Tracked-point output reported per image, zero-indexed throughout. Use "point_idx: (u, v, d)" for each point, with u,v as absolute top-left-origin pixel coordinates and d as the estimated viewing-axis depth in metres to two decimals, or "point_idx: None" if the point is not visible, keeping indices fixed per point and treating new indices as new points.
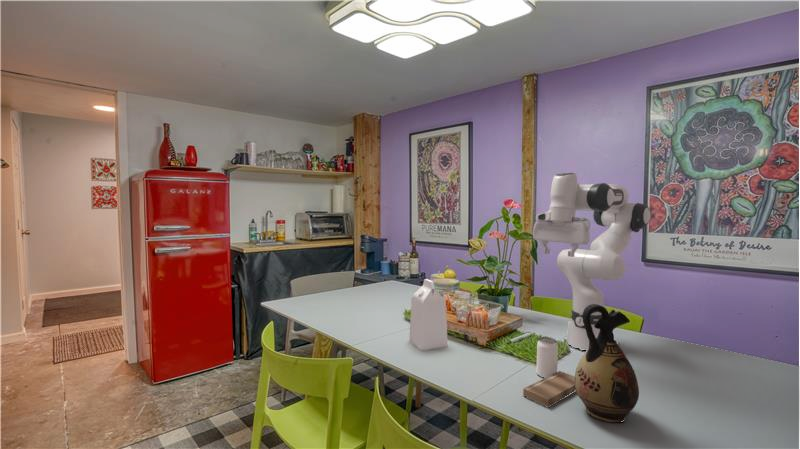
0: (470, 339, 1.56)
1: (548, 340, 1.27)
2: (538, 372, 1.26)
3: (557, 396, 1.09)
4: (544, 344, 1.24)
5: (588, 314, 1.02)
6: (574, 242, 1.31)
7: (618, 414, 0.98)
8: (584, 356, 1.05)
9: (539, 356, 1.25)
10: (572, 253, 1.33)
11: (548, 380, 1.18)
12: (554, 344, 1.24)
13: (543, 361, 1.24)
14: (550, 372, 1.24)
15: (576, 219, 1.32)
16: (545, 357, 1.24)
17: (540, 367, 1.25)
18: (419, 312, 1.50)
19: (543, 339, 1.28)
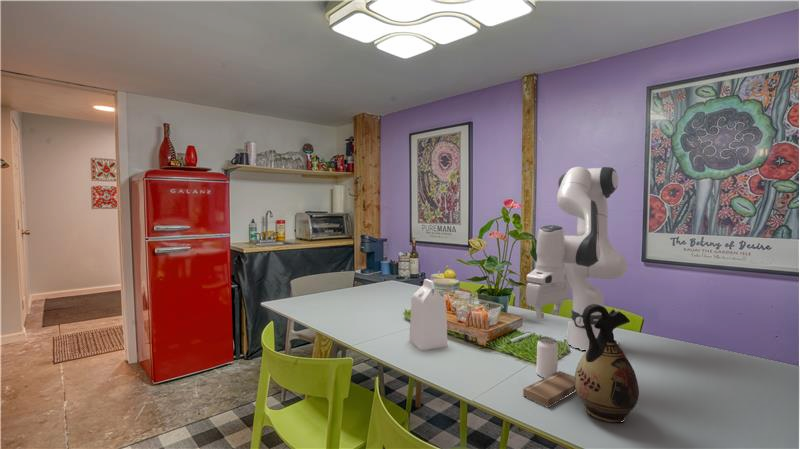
0: (470, 339, 1.56)
1: (548, 340, 1.27)
2: (538, 372, 1.26)
3: (557, 396, 1.09)
4: (544, 344, 1.24)
5: (588, 314, 1.02)
6: (564, 299, 1.28)
7: (618, 414, 0.98)
8: (584, 356, 1.05)
9: (539, 356, 1.25)
10: None
11: (548, 380, 1.18)
12: (554, 344, 1.24)
13: (543, 361, 1.24)
14: (550, 372, 1.24)
15: None
16: (545, 357, 1.24)
17: (540, 367, 1.25)
18: (419, 312, 1.50)
19: (543, 339, 1.28)
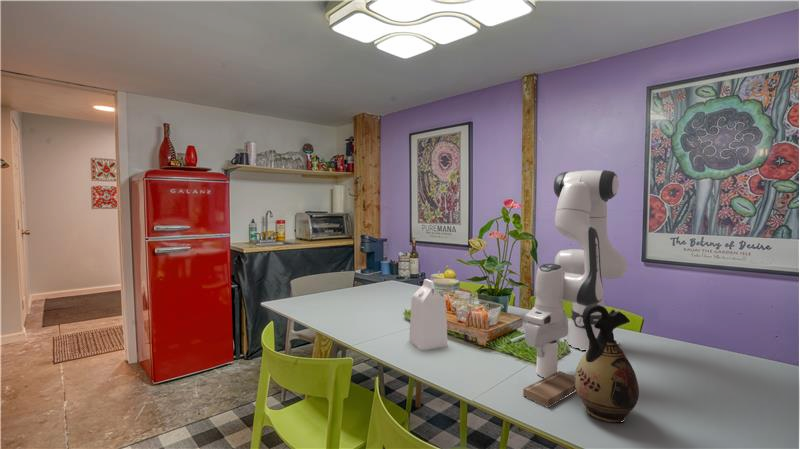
0: (470, 339, 1.56)
1: None
2: (538, 372, 1.26)
3: (557, 396, 1.09)
4: (544, 344, 1.24)
5: (588, 314, 1.02)
6: (562, 336, 1.29)
7: (618, 414, 0.98)
8: (584, 356, 1.05)
9: None
10: None
11: (548, 380, 1.18)
12: (554, 344, 1.24)
13: (543, 361, 1.24)
14: (550, 372, 1.24)
15: None
16: (545, 357, 1.24)
17: (540, 367, 1.25)
18: (419, 312, 1.50)
19: None
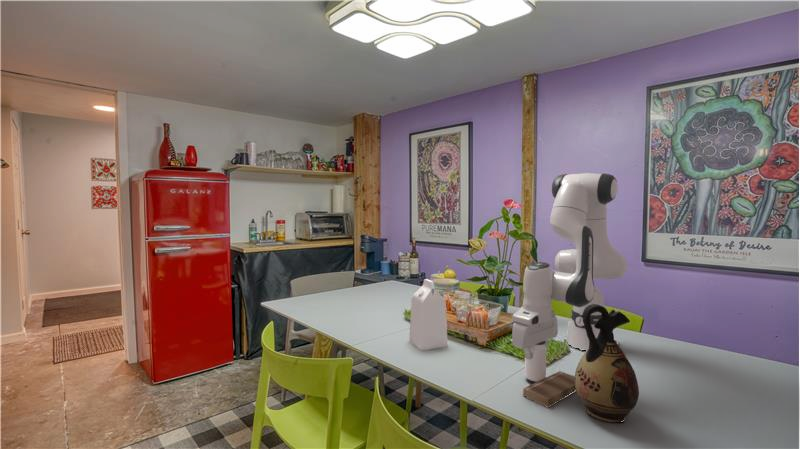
0: (470, 339, 1.56)
1: None
2: (526, 375, 1.22)
3: (557, 396, 1.09)
4: (532, 346, 1.20)
5: (588, 314, 1.02)
6: (552, 337, 1.25)
7: (618, 414, 0.98)
8: (584, 356, 1.05)
9: None
10: None
11: (548, 380, 1.18)
12: (542, 346, 1.20)
13: (531, 364, 1.20)
14: (539, 374, 1.19)
15: None
16: (534, 359, 1.19)
17: (528, 369, 1.21)
18: (419, 312, 1.50)
19: None
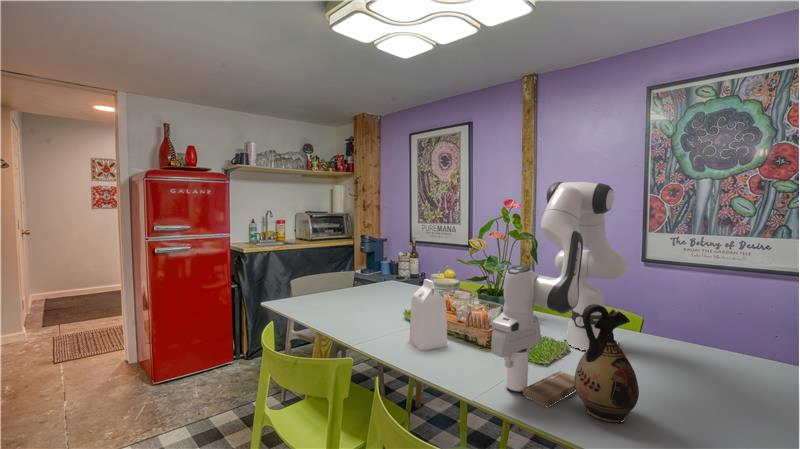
0: (470, 339, 1.56)
1: None
2: (507, 384, 1.16)
3: (557, 396, 1.09)
4: (513, 354, 1.14)
5: (588, 314, 1.02)
6: (534, 344, 1.19)
7: (618, 414, 0.98)
8: (584, 356, 1.05)
9: None
10: None
11: (548, 380, 1.18)
12: (524, 353, 1.14)
13: (512, 372, 1.14)
14: (519, 384, 1.14)
15: None
16: (514, 367, 1.14)
17: (509, 378, 1.15)
18: (419, 312, 1.50)
19: None
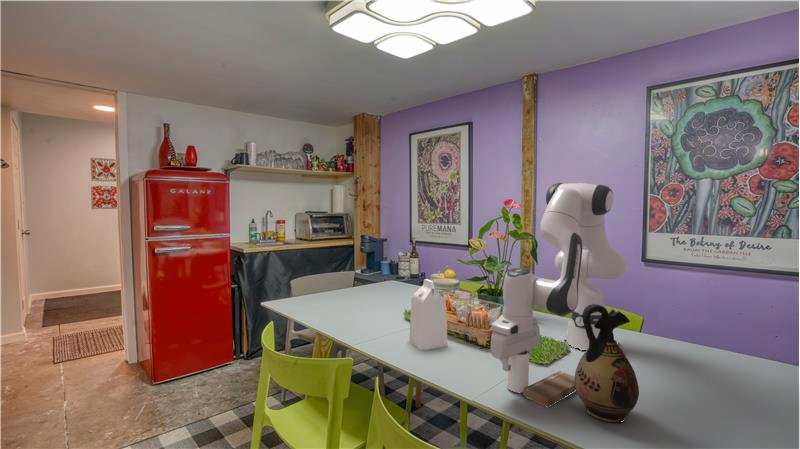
0: (470, 339, 1.56)
1: None
2: (508, 385, 1.17)
3: (557, 396, 1.09)
4: (514, 356, 1.15)
5: (588, 314, 1.02)
6: (533, 347, 1.19)
7: (618, 414, 0.98)
8: (584, 356, 1.05)
9: None
10: None
11: (548, 380, 1.18)
12: (524, 355, 1.14)
13: (513, 374, 1.15)
14: (520, 386, 1.14)
15: None
16: (515, 369, 1.14)
17: (510, 380, 1.15)
18: (419, 312, 1.50)
19: None
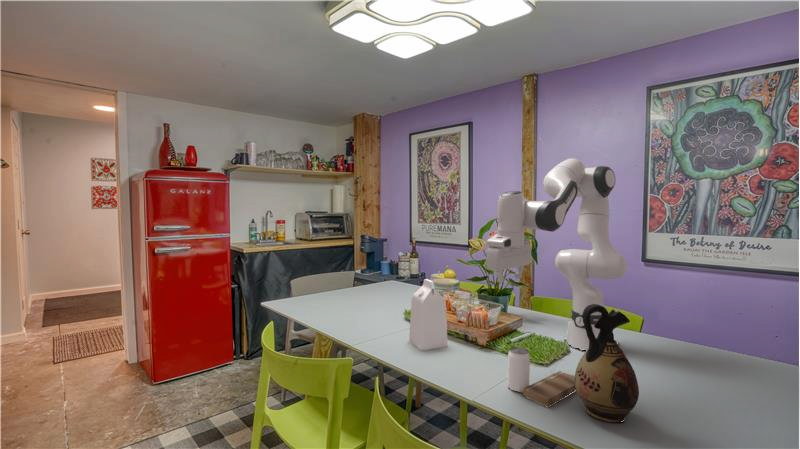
0: (470, 339, 1.56)
1: (519, 350, 1.18)
2: (509, 385, 1.17)
3: (557, 396, 1.09)
4: (515, 355, 1.15)
5: (588, 314, 1.02)
6: (525, 264, 1.30)
7: (618, 414, 0.98)
8: (584, 356, 1.05)
9: (510, 368, 1.16)
10: None
11: (548, 380, 1.18)
12: (525, 355, 1.15)
13: (514, 374, 1.15)
14: (521, 385, 1.15)
15: None
16: (516, 369, 1.15)
17: (511, 379, 1.16)
18: (419, 312, 1.50)
19: (514, 349, 1.19)
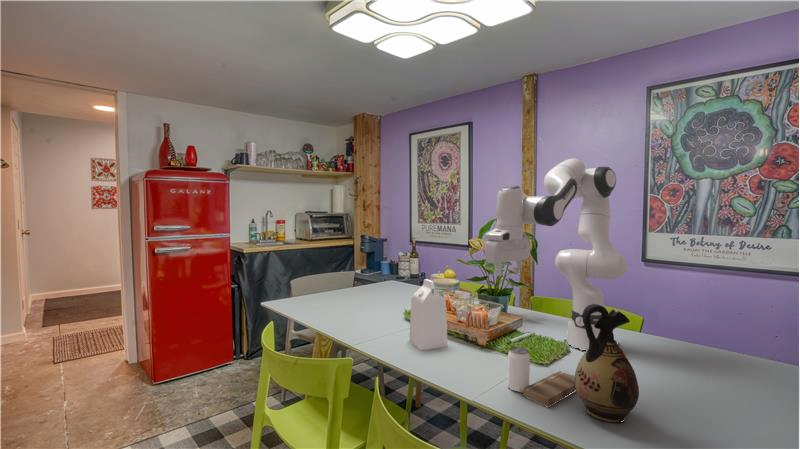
0: (470, 339, 1.56)
1: (519, 350, 1.18)
2: (509, 385, 1.17)
3: (557, 396, 1.09)
4: (515, 355, 1.15)
5: (588, 314, 1.02)
6: (524, 258, 1.32)
7: (618, 414, 0.98)
8: (584, 356, 1.05)
9: (510, 368, 1.16)
10: None
11: (548, 380, 1.18)
12: (525, 355, 1.15)
13: (514, 374, 1.15)
14: (521, 385, 1.15)
15: None
16: (516, 369, 1.15)
17: (511, 379, 1.16)
18: (419, 312, 1.50)
19: (514, 349, 1.19)
